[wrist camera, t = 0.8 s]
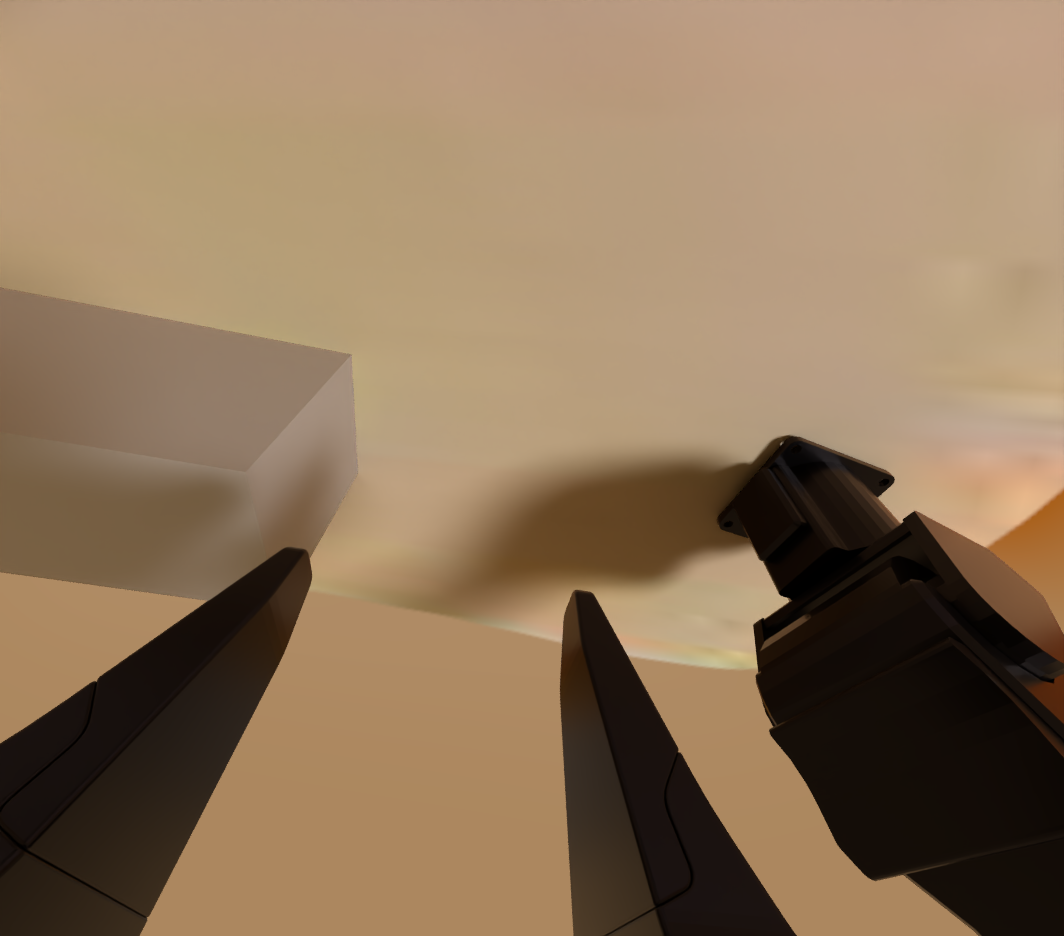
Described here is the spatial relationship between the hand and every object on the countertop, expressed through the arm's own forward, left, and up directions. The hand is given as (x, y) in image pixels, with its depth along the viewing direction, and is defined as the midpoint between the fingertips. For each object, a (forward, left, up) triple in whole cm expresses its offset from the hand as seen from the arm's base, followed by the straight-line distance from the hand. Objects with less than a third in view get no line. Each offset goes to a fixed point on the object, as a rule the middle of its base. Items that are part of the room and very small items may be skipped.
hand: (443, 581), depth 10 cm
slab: (+14, +8, -13) cm, 20 cm away
